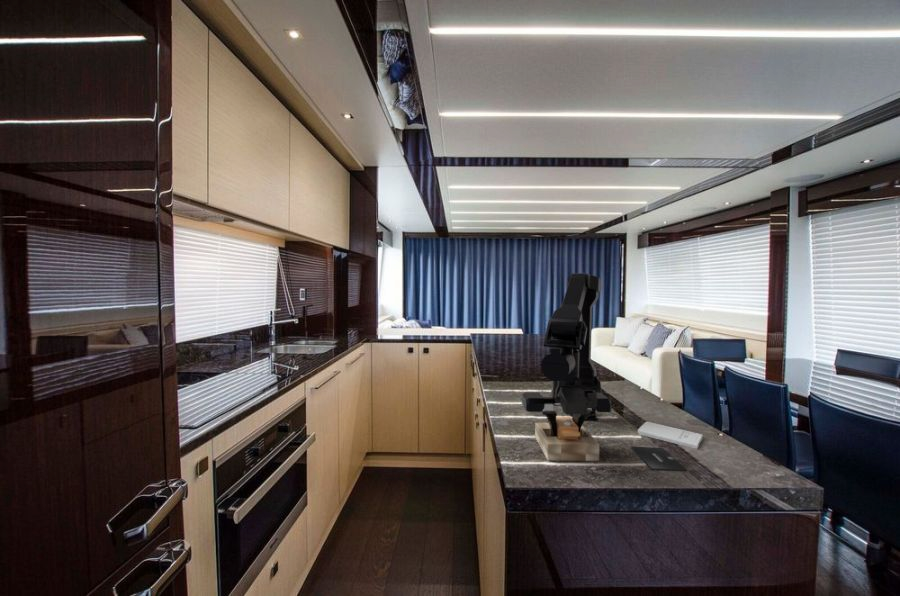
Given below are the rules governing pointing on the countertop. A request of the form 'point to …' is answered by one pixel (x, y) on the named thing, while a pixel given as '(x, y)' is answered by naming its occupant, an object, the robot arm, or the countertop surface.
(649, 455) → the solid state drive
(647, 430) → the external hard drive
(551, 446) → the beige notched square frame
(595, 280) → the robot arm
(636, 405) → the countertop surface
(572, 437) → the block
